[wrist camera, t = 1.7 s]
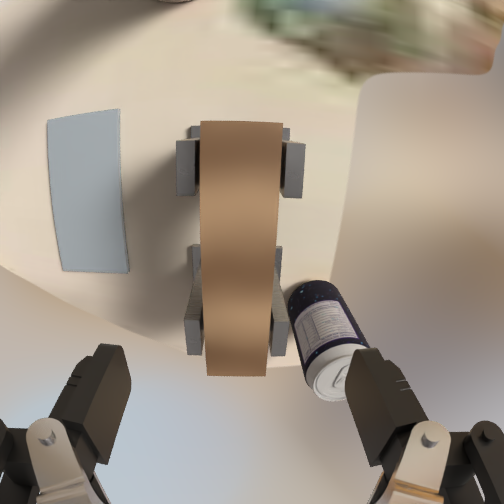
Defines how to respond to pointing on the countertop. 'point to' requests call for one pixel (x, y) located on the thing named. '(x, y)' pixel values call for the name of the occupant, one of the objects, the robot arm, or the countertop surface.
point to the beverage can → (324, 337)
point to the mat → (88, 191)
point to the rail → (238, 241)
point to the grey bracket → (195, 310)
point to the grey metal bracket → (191, 165)
